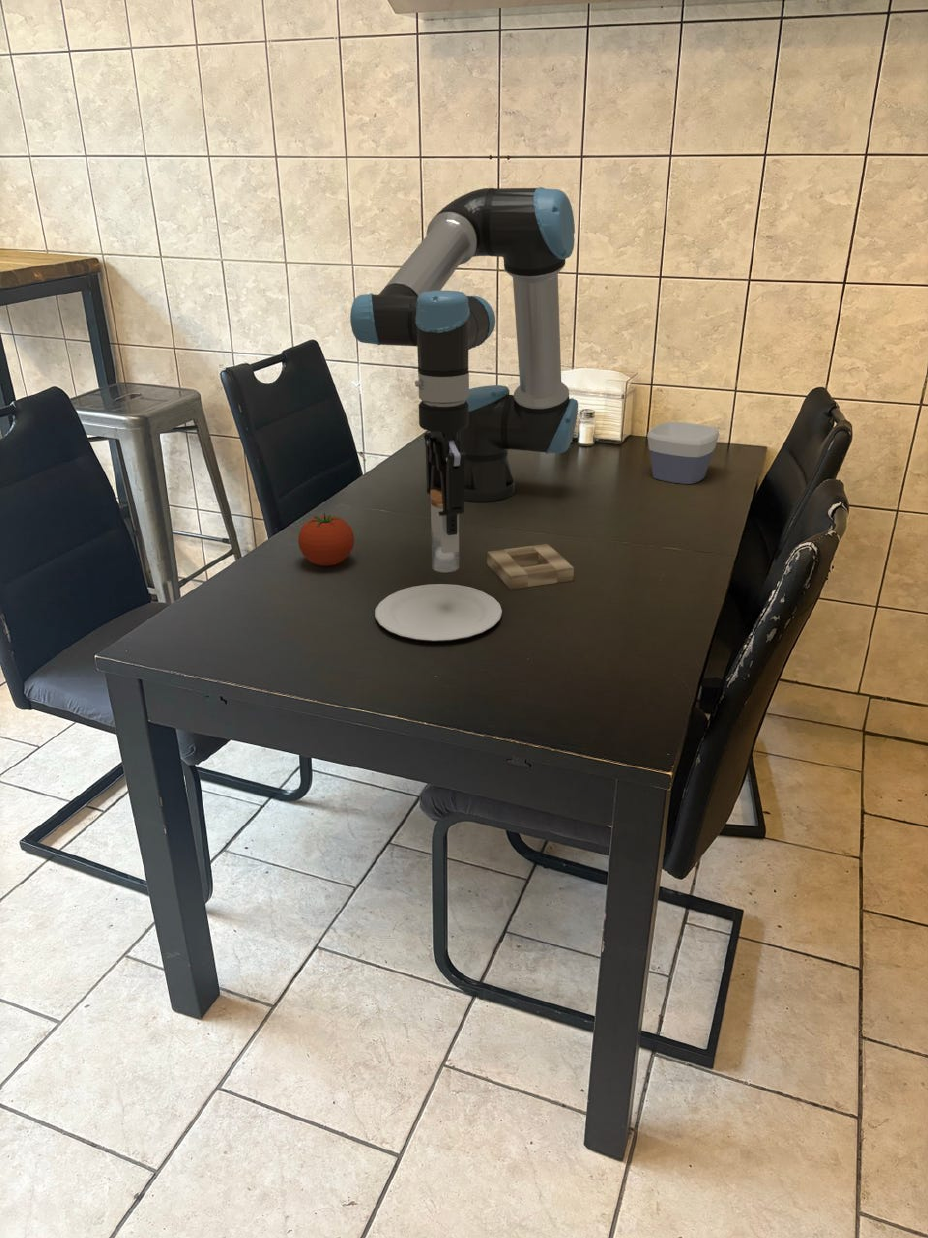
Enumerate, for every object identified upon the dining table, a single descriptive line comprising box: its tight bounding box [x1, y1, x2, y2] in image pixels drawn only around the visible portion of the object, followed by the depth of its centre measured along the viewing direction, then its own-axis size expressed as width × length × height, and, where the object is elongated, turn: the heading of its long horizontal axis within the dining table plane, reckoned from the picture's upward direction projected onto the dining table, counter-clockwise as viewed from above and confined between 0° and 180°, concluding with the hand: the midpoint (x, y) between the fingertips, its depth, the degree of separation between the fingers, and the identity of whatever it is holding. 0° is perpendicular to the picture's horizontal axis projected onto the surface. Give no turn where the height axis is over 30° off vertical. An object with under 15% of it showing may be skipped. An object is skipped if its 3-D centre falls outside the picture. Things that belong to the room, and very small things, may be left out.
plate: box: [374, 583, 503, 643], centre depth 150 cm, size 21×21×2 cm
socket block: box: [486, 543, 575, 590], centre depth 165 cm, size 12×12×2 cm
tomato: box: [297, 512, 355, 567], centre depth 168 cm, size 10×10×10 cm
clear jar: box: [429, 486, 460, 573], centre depth 146 cm, size 4×4×13 cm
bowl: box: [646, 421, 720, 485], centre depth 214 cm, size 15×15×11 cm
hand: (445, 545), depth 147 cm, fingers closed on clear jar, 4 cm apart
